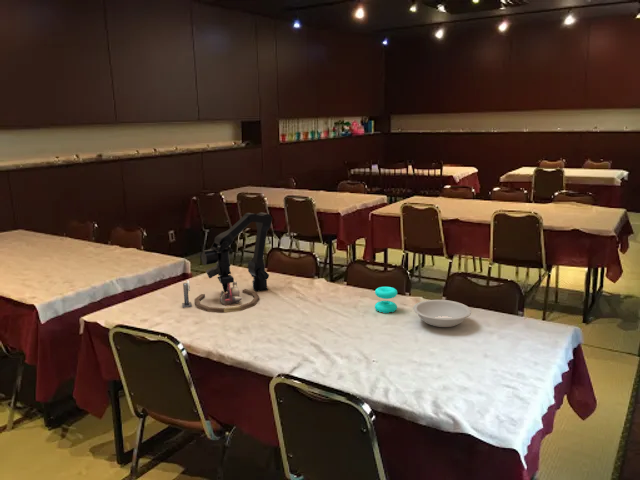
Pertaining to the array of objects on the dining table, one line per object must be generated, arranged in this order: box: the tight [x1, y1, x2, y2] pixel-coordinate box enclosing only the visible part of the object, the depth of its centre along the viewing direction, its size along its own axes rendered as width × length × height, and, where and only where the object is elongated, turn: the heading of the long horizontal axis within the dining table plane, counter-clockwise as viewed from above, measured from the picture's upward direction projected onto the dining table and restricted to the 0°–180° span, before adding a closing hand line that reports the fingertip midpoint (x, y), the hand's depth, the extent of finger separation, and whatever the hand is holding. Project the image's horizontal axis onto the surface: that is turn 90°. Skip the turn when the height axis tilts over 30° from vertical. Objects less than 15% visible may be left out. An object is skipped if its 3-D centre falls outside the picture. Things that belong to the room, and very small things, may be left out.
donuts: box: [374, 286, 398, 314], centre depth 247 cm, size 10×10×10 cm
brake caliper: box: [219, 281, 243, 307], centre depth 261 cm, size 11×11×12 cm
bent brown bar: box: [194, 288, 260, 313], centre depth 261 cm, size 30×26×2 cm
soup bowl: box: [412, 299, 472, 328], centre depth 231 cm, size 24×24×7 cm
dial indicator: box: [181, 279, 193, 309], centre depth 256 cm, size 4×5×12 cm
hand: (225, 291), depth 267 cm, fingers closed
